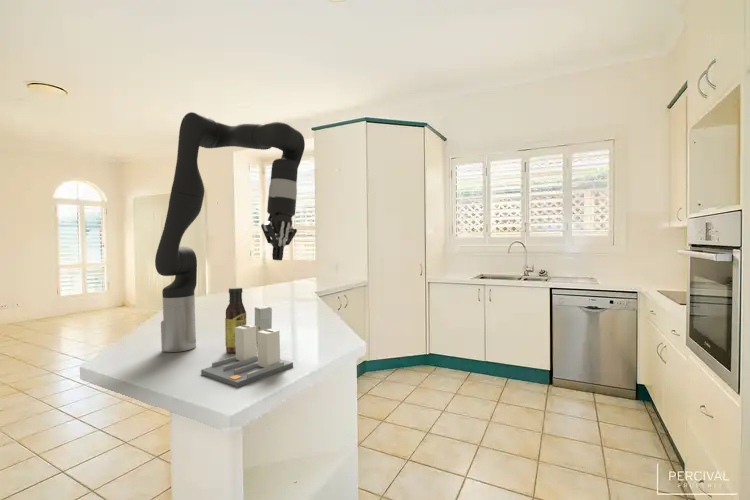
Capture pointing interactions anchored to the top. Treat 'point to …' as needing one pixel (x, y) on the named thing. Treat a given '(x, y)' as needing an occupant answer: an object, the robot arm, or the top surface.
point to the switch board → (242, 370)
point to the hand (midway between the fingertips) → (277, 260)
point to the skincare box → (263, 318)
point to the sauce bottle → (234, 317)
